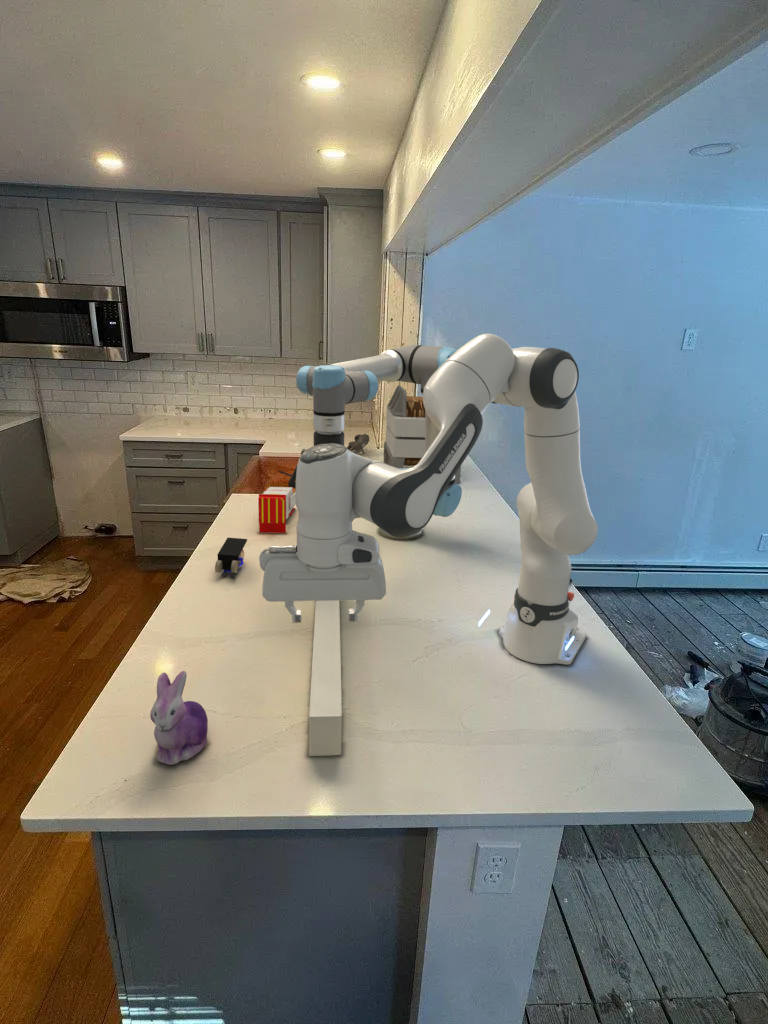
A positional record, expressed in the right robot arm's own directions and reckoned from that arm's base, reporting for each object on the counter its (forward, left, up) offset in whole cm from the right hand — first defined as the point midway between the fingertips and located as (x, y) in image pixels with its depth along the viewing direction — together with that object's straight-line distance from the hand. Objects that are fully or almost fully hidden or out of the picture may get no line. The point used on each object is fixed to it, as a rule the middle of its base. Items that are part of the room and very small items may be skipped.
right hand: (325, 620), depth 96 cm
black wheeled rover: (-26, -71, -25) cm, 80 cm away
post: (-18, -20, -25) cm, 36 cm away
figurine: (+20, -15, -25) cm, 35 cm away
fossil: (-155, -151, -25) cm, 217 cm away
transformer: (-151, -104, -25) cm, 185 cm away
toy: (-61, -96, -25) cm, 117 cm away
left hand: (-36, -40, 0) cm, 53 cm away
